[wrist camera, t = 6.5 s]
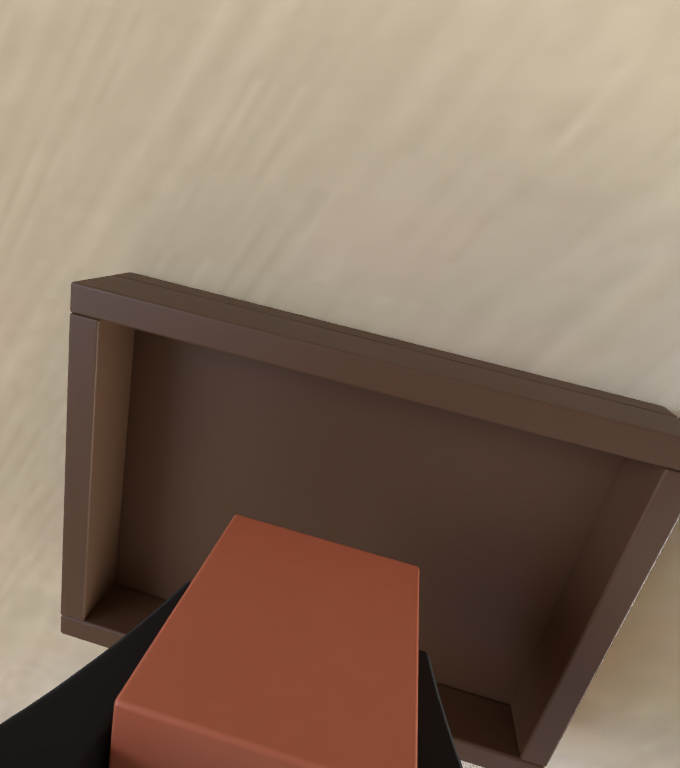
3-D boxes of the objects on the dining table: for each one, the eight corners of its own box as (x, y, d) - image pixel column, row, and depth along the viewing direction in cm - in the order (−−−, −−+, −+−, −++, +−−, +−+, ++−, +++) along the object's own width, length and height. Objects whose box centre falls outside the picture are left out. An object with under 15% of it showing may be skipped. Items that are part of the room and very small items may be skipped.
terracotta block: (364, 732, 12) (332, 1007, 8) (206, 681, 12) (93, 919, 8) (420, 565, 10) (418, 803, 6) (235, 511, 10) (111, 702, 6)
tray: (521, 706, 17) (537, 786, 15) (107, 579, 18) (59, 633, 16) (664, 406, 13) (718, 447, 11) (128, 271, 15) (70, 281, 12)
